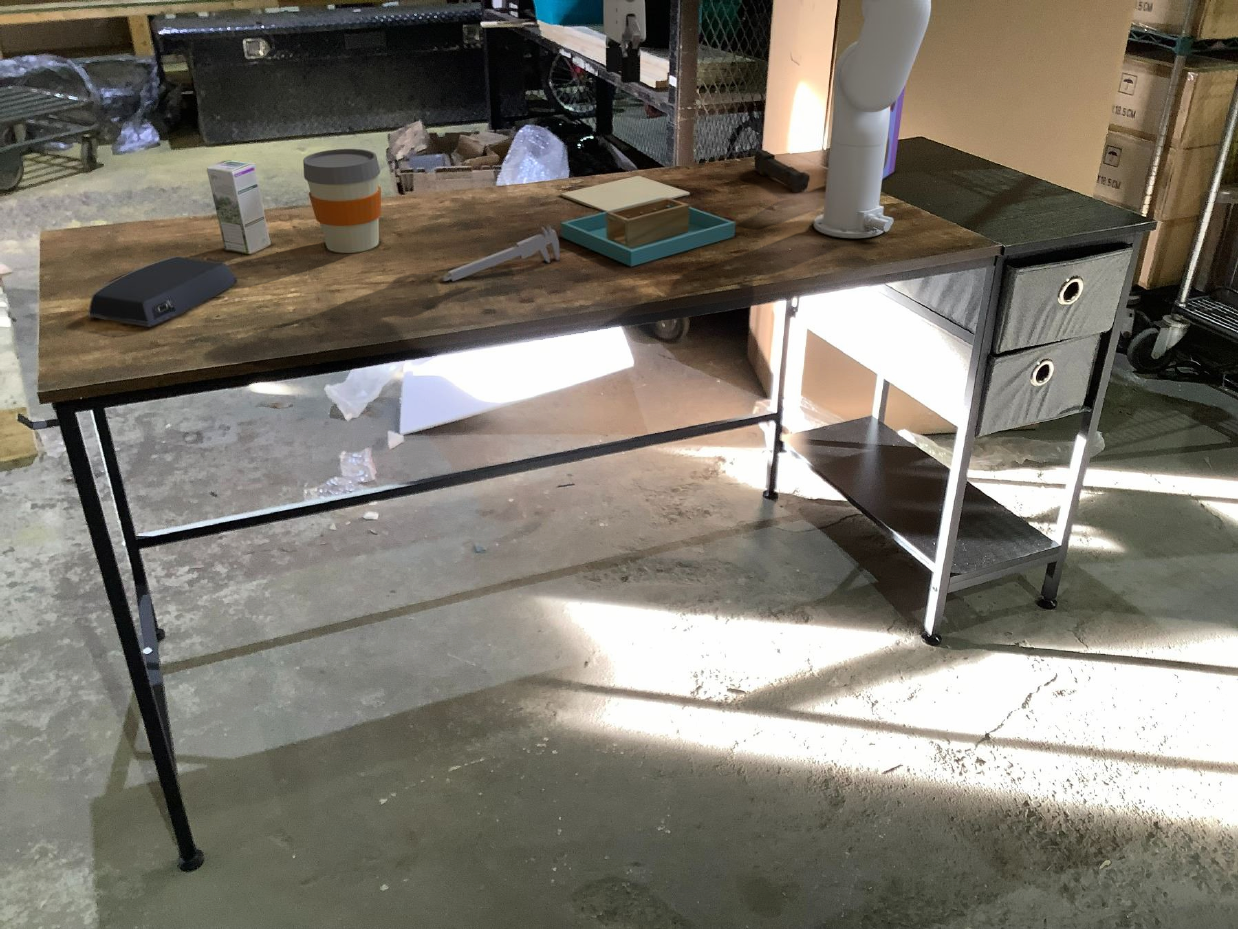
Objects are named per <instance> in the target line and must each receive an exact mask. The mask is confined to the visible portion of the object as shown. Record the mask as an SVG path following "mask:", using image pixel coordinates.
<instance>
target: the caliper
mask: <svg viewBox="0 0 1238 929" xmlns="http://www.w3.org/2000/svg"><path fill="white" fill-rule="evenodd" d="M540 228H541V232H542V234H541V233H539V234H535V235H533V236H531V237H527V238H525V239H523V240H520V241H518V242H516V243H515V245H514V246H512V247H509V248H506V249H504V250H501V251H499V252H496V253H493V254H491V255H487V256H485V257H482V258H480V259H477V260H475V261H472V262H470V263H467V264H464V265H462V266H458V267H456V268H454V269H450V270H449V271H448V274H446V275H444V276H442V278H441V280H442V281H443V282H447V281H452V282H455V281H458V280H460V279H463V278H465V277H468V276H471V275H473V274H476V273H478V272H481V271H483V270H486V269H489V268H491V267H493V266H497V265H499V264H502V263H504V262H507V261H510V260H512V259H515V258H518V257H519V258H521V259H522V260H525V259H526V258H528V257H532V256H533V255H535V254H536V252H539V254H540V256H541V257H542V258H543V260H544V261H545V262H547V263H551V260H550V254H549V251H548V249H547V246H548V245H550V248H551V251H552V254H553V258H554V259H555V260H556V261H558V260H560V253H561V252H560V241H559V238H558V237H559V236H558V235H557V232H556V230H555V229H552V226H551V225H550V224H547V225H546V229H545V228H544V227H543V226H541V227H540Z"/></svg>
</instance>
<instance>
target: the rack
mask: <svg viewBox="0 0 1238 929" xmlns="http://www.w3.org/2000/svg"><path fill="white" fill-rule="evenodd" d="M670 205H673V206H676V207H672V208H670ZM689 207H690V204H688V203H686V202H685V203H684V202H682V201H680V200H676V199H674V198H673V199H671V198H668V197H666V198H662V199H658V200H654V201H650V202H646V203H642V204H638V205H634V206H630V207H626V208H622V209H618V210H614V211H610V212H606V239H607V240H610V241H612V242H615V243H617V244H620V245H622V246H625V247H627V248H634V247H637V246H641V245H644V244H648V243H652V242H655V241H659V240H662V239H666V238H670V237H673V236H677V235H680V234H684V233H688V232H689Z"/></svg>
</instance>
